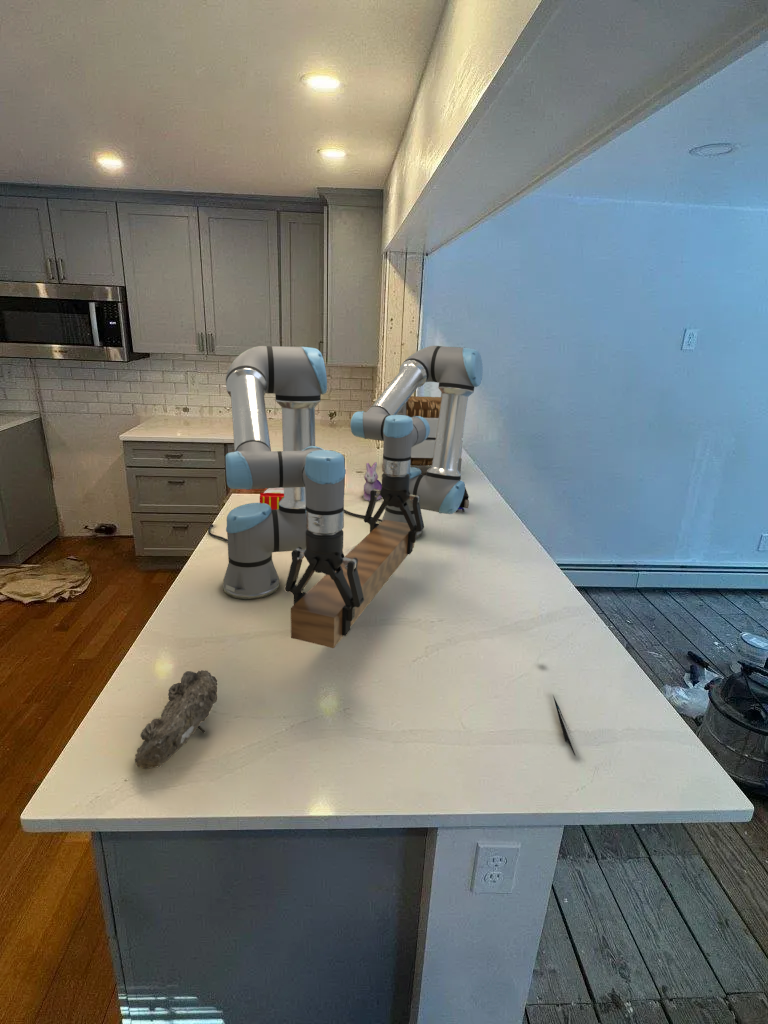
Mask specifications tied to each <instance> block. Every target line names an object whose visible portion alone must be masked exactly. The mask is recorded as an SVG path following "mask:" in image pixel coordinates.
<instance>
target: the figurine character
mask: <svg viewBox="0 0 768 1024" xmlns="http://www.w3.org/2000/svg"><path fill="white" fill-rule="evenodd" d="M469 498H470V496H469V494H468V491H467V488H466V487H465V492H464V496H463V499H462V502H461V504H460V506H459V508H458V509H457V511H456V512H455V513H458V510H461V511H462V513H465V509H469V506H470V500H469Z"/></svg>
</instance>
